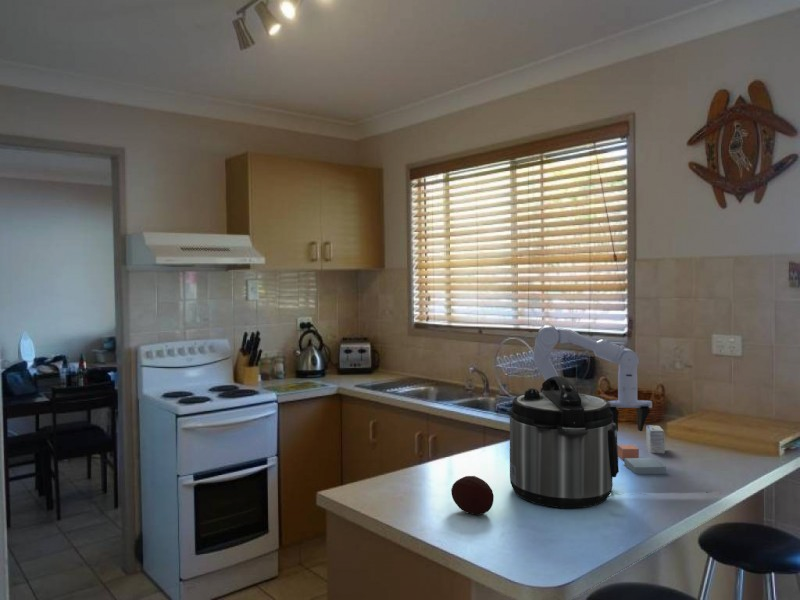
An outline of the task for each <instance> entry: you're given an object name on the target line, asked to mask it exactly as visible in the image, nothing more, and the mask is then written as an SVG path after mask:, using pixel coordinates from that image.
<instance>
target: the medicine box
mask: <svg viewBox="0 0 800 600" xmlns="http://www.w3.org/2000/svg"><path fill="white" fill-rule="evenodd" d="M645 446H646V447H645V449H646V452H650V454H665V449H666V447H665V430H664V429H663V428H662V427H661V426H660V425H652V424H651V425H650V424H649V425H646V426H645Z"/></svg>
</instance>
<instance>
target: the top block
mask: <svg viewBox="0 0 800 600" xmlns="http://www.w3.org/2000/svg"><path fill="white" fill-rule="evenodd" d="M623 462H624V464H623V466H624V465H625V466H626V467H628V468H629V469H628V470H630V471H631V472H632V473H633V474H634V475H659V474H660V475H661V474H662V475H666V474H667V466H666V465H664V464H663V463H662V462H661V461H659V460H658V459H656V458H655V457H639V458H624V460H623ZM625 466H624V467H625ZM626 467H625V468H626Z"/></svg>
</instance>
